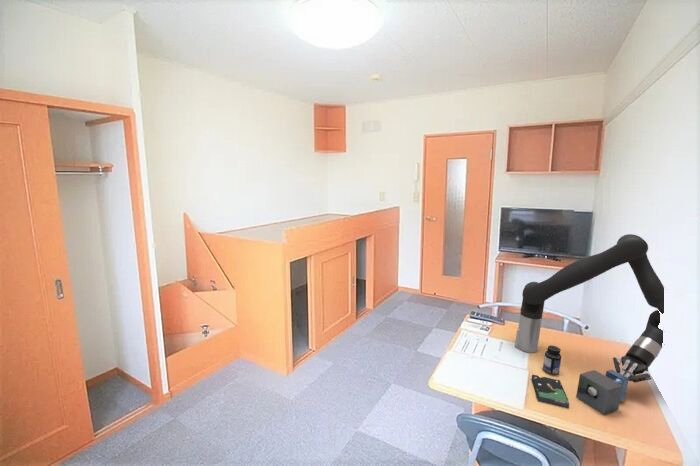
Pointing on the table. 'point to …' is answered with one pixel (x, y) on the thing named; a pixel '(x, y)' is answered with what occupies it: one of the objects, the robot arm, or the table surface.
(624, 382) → the silver metal piece
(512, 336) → the table surface
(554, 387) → the disk drive
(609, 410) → the bearing block
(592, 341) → the table surface
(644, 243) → the robot arm
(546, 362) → the pill bottle
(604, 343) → the table surface
